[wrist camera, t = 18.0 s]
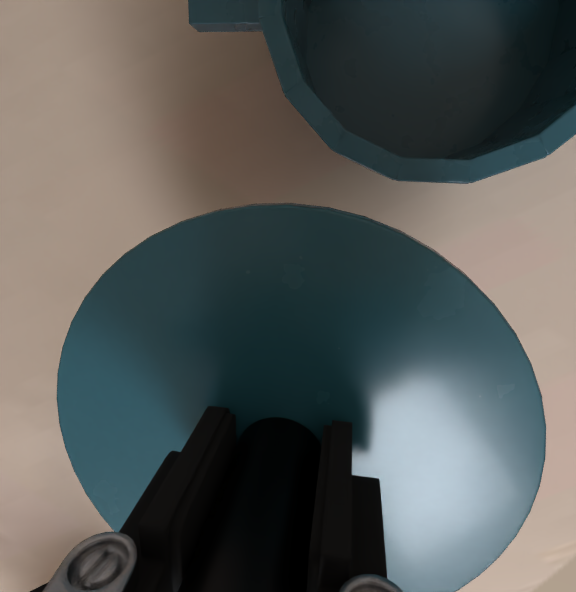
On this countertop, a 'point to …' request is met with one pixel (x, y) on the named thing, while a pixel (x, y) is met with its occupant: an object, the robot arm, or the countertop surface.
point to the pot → (420, 78)
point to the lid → (306, 391)
